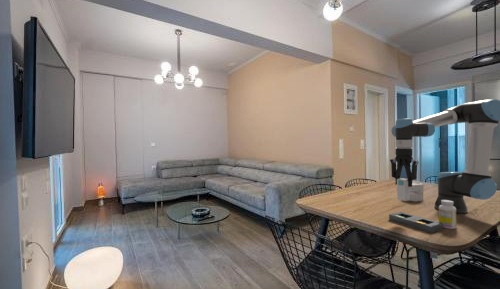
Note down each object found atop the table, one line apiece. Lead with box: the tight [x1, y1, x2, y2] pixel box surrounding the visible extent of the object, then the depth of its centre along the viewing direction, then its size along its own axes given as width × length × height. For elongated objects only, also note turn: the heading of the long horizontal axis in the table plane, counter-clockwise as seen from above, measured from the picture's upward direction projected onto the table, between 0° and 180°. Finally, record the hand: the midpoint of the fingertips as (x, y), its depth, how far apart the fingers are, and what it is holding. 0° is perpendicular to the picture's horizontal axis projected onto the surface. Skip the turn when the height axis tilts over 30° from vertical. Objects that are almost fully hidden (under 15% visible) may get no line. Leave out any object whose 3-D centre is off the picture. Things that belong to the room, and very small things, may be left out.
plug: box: [396, 177, 411, 202], centre depth 122 cm, size 5×4×11 cm
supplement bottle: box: [438, 200, 457, 230], centre depth 114 cm, size 7×7×13 cm
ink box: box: [409, 180, 425, 202], centre depth 164 cm, size 9×8×13 cm
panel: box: [388, 211, 444, 234], centre depth 118 cm, size 10×20×3 cm, turn 25°
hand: (403, 191), depth 122 cm, fingers closed on plug, 4 cm apart
